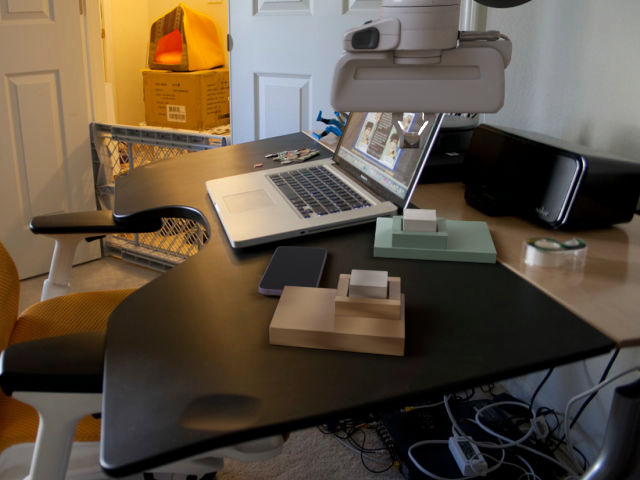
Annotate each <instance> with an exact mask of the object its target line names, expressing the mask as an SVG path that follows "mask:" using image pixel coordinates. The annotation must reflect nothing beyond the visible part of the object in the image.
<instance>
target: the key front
mask: <svg viewBox="0 0 640 480" xmlns="http://www.w3.org/2000/svg"><path fill="white" fill-rule="evenodd" d="M388 277H389V272H388V271H387V270H386V271H385V270H370V269H369V270H367V269H351V279H350V285H349V297H359V298H374V299H387V280H388Z"/></svg>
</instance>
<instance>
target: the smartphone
mask: <svg viewBox="0 0 640 480" xmlns="http://www.w3.org/2000/svg"><path fill="white" fill-rule="evenodd" d="M327 257H328V250H327V249H326V248H322V247H305V246H286V245H285V246H284V245H283V246H278V247H277V248H276V249H275V251H274V253H273V255H272V256H271V259H270V261H269V263H268V265H267V267H266V269H265V272H264V274H263V276H262V277H261V280H260V282H259V284H258V293H260V294H261V295H265V296H280V297H281V295H282V292H283V289H284V287H285V286H296V287H311V288H319V287H320V283H321V280H322V275H323V272H324V268H325V264H326V261H327Z"/></svg>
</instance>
